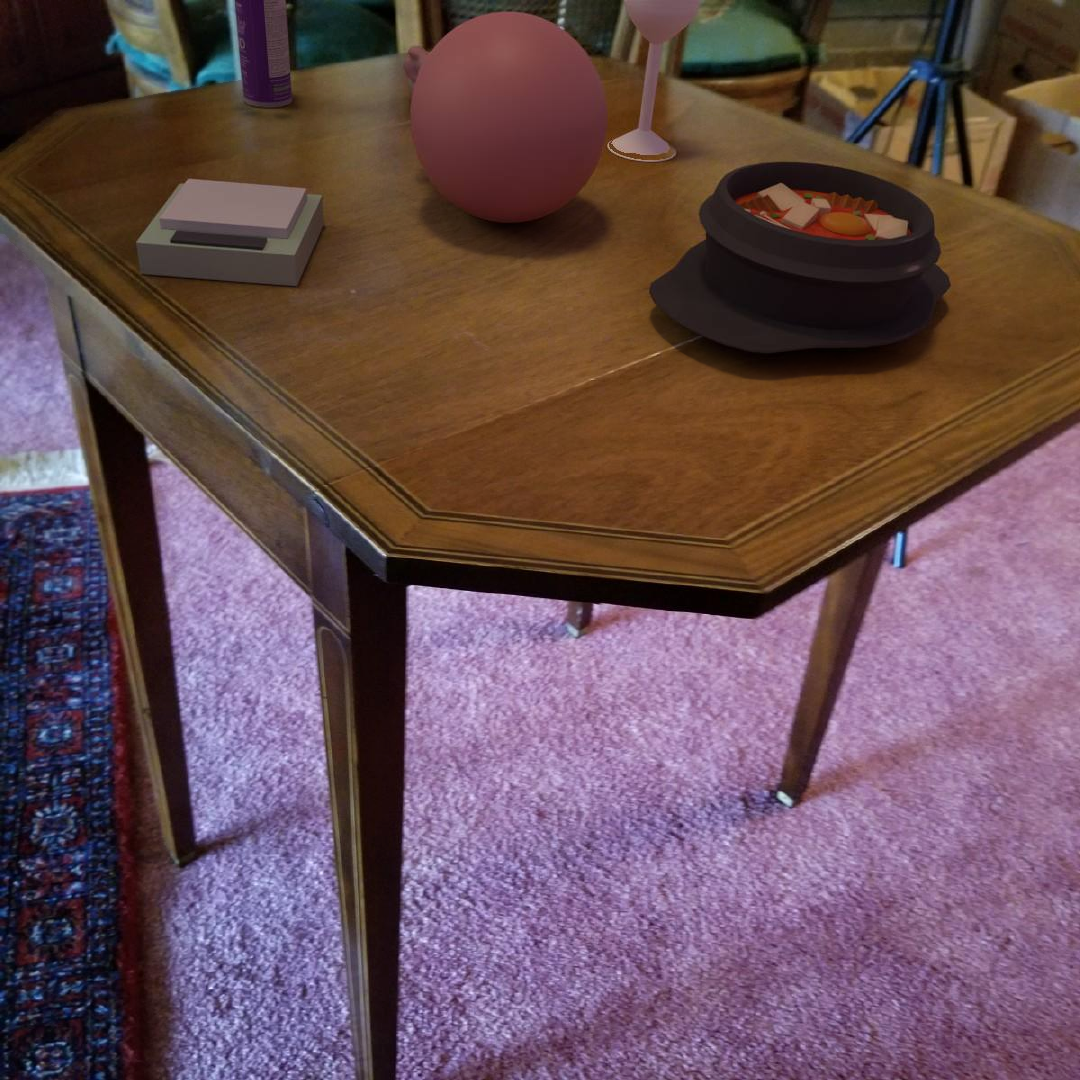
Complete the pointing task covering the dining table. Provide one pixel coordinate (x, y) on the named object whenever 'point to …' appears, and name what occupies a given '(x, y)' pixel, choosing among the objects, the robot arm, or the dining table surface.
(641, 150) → the champagne flute
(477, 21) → the balloon
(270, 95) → the container
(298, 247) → the scale
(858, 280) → the casserole
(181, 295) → the dining table surface
